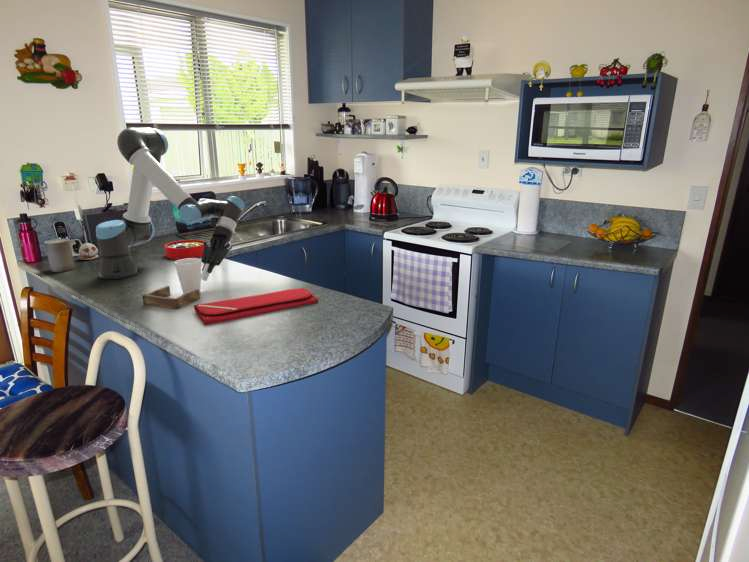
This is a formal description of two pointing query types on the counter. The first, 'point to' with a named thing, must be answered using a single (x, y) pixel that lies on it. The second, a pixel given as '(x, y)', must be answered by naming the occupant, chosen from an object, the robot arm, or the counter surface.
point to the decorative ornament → (88, 250)
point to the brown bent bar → (161, 300)
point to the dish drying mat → (253, 305)
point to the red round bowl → (184, 249)
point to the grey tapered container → (59, 255)
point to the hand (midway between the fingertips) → (203, 279)
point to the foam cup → (189, 274)
